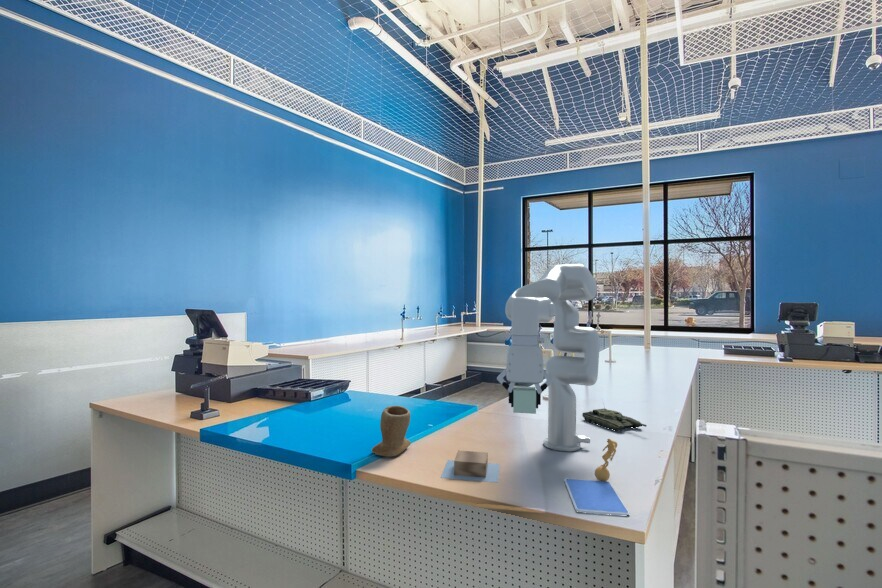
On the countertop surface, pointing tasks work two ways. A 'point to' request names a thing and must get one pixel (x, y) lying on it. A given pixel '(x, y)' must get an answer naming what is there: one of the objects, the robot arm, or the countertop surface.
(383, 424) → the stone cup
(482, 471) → the walnut base block
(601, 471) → the figurine
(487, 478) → the light blue mat
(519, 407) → the sage cube
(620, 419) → the toy tank
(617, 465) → the countertop surface
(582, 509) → the tablet computer
